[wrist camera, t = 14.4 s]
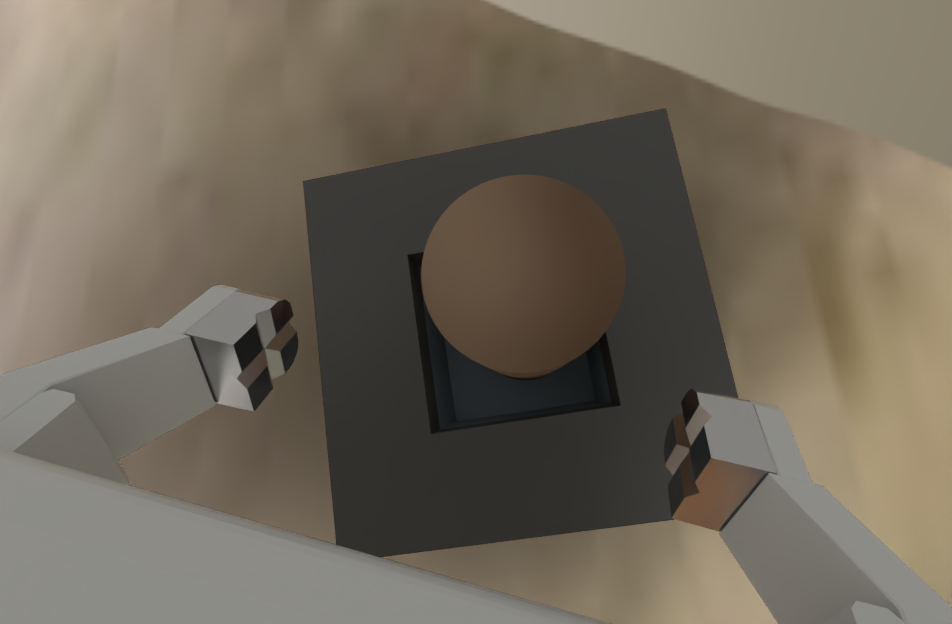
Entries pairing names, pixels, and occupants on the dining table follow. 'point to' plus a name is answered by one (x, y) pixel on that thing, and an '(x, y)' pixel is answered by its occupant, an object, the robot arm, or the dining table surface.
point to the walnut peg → (523, 274)
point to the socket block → (486, 391)
